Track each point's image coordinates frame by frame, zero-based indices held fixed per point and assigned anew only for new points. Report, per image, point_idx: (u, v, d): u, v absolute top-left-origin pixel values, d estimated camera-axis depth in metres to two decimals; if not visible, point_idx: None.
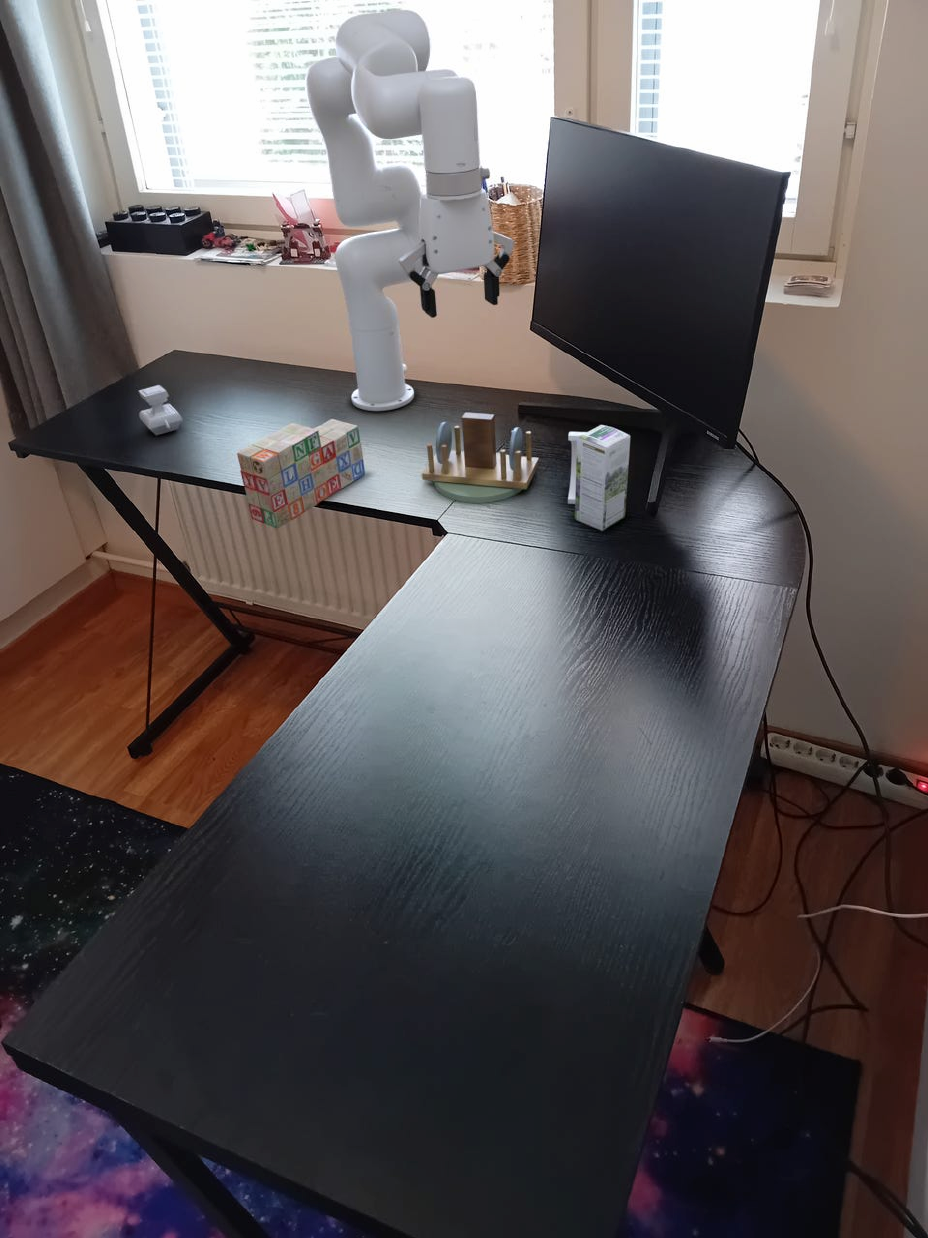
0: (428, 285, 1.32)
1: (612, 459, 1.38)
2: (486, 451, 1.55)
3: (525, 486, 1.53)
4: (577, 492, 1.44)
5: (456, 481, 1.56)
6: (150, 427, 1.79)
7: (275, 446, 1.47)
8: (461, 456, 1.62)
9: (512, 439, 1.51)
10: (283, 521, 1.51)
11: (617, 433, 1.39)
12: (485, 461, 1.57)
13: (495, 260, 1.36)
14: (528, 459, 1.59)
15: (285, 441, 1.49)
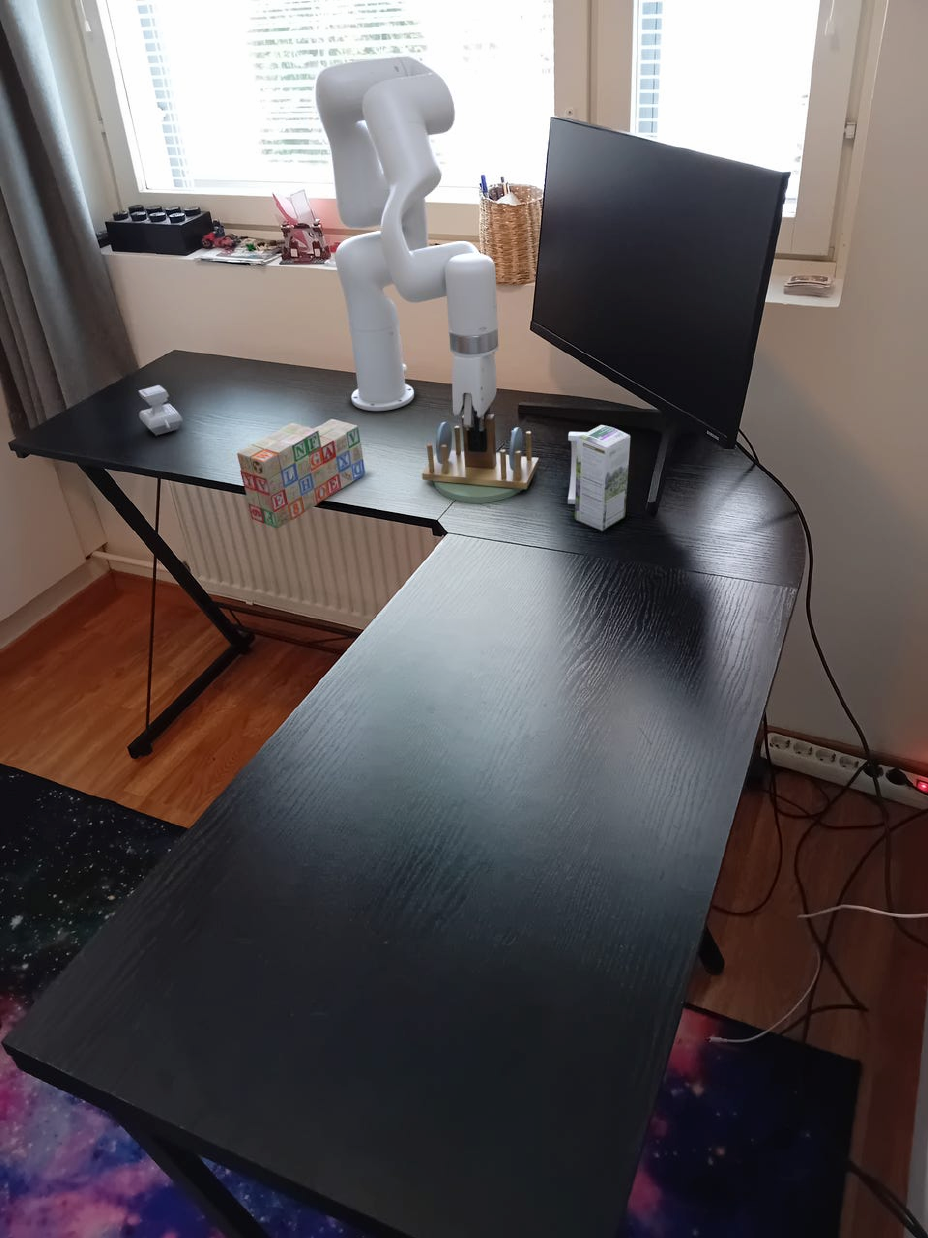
0: (483, 426, 1.52)
1: (612, 459, 1.38)
2: (486, 451, 1.55)
3: (525, 486, 1.53)
4: (577, 492, 1.44)
5: (456, 481, 1.56)
6: (150, 427, 1.79)
7: (275, 446, 1.47)
8: (461, 456, 1.62)
9: (512, 439, 1.51)
10: (283, 521, 1.51)
11: (617, 433, 1.39)
12: (485, 461, 1.57)
13: None
14: (528, 459, 1.59)
15: (285, 441, 1.49)
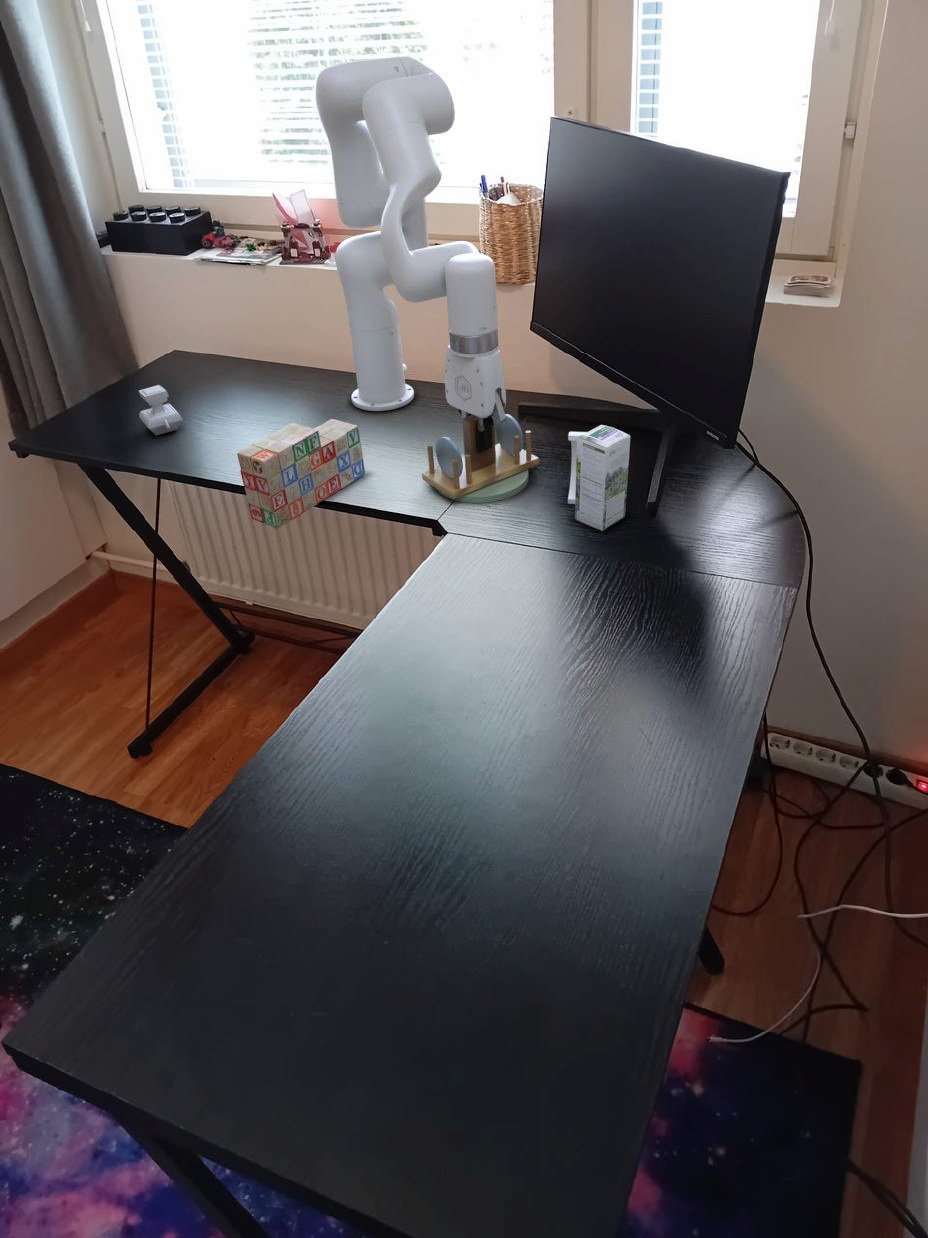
0: None
1: (612, 459, 1.38)
2: None
3: (538, 461, 1.60)
4: (577, 492, 1.44)
5: (483, 485, 1.55)
6: (150, 427, 1.79)
7: (275, 446, 1.47)
8: None
9: (516, 423, 1.56)
10: (283, 521, 1.51)
11: (617, 433, 1.39)
12: (489, 457, 1.58)
13: None
14: None
15: (285, 441, 1.49)
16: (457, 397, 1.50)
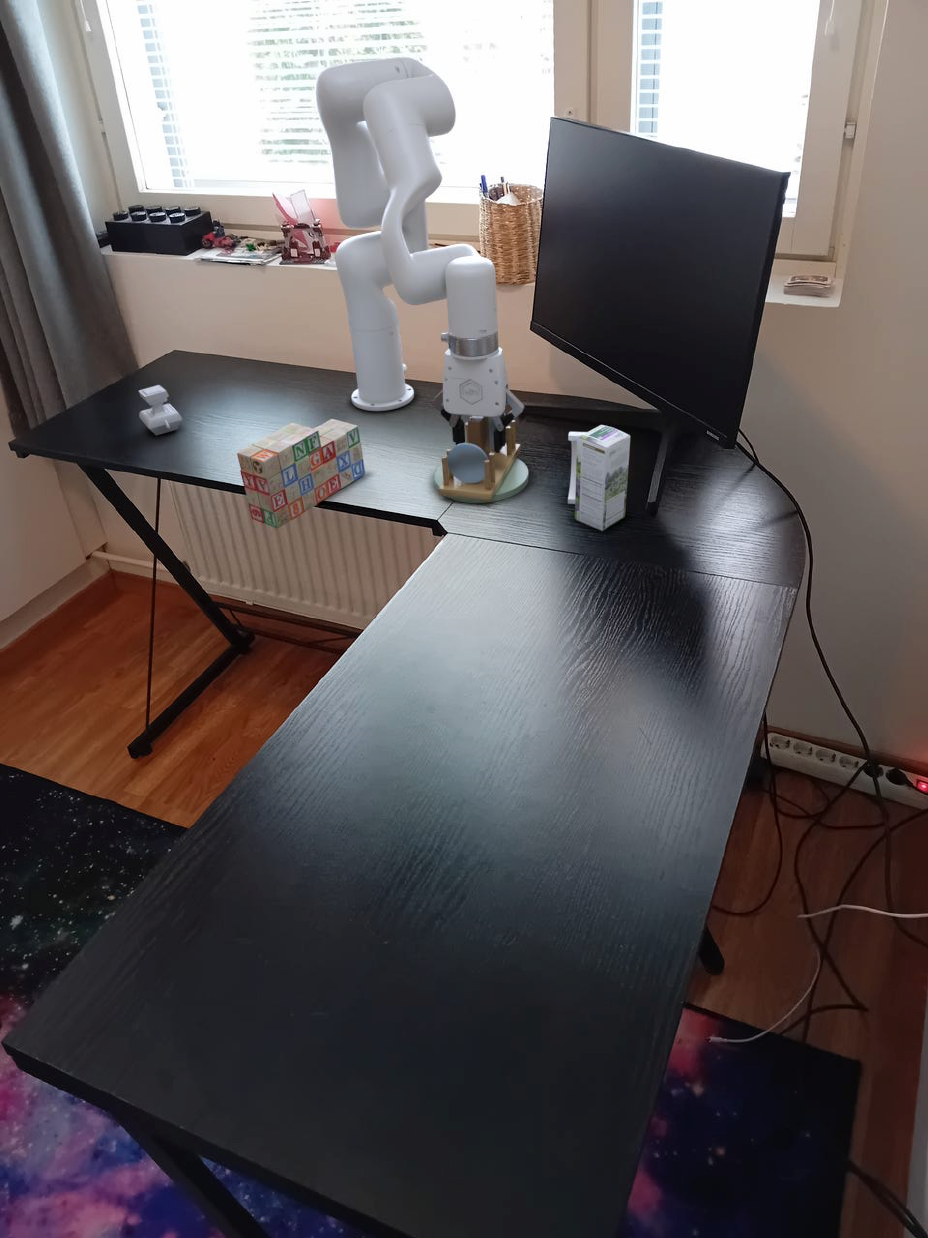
0: None
1: (612, 459, 1.38)
2: (488, 444, 1.57)
3: (520, 448, 1.64)
4: (577, 492, 1.44)
5: (501, 481, 1.56)
6: (150, 427, 1.79)
7: (275, 446, 1.47)
8: None
9: None
10: (283, 521, 1.51)
11: (617, 433, 1.39)
12: (488, 455, 1.58)
13: (451, 414, 1.54)
14: None
15: (285, 441, 1.49)
16: (462, 403, 1.49)
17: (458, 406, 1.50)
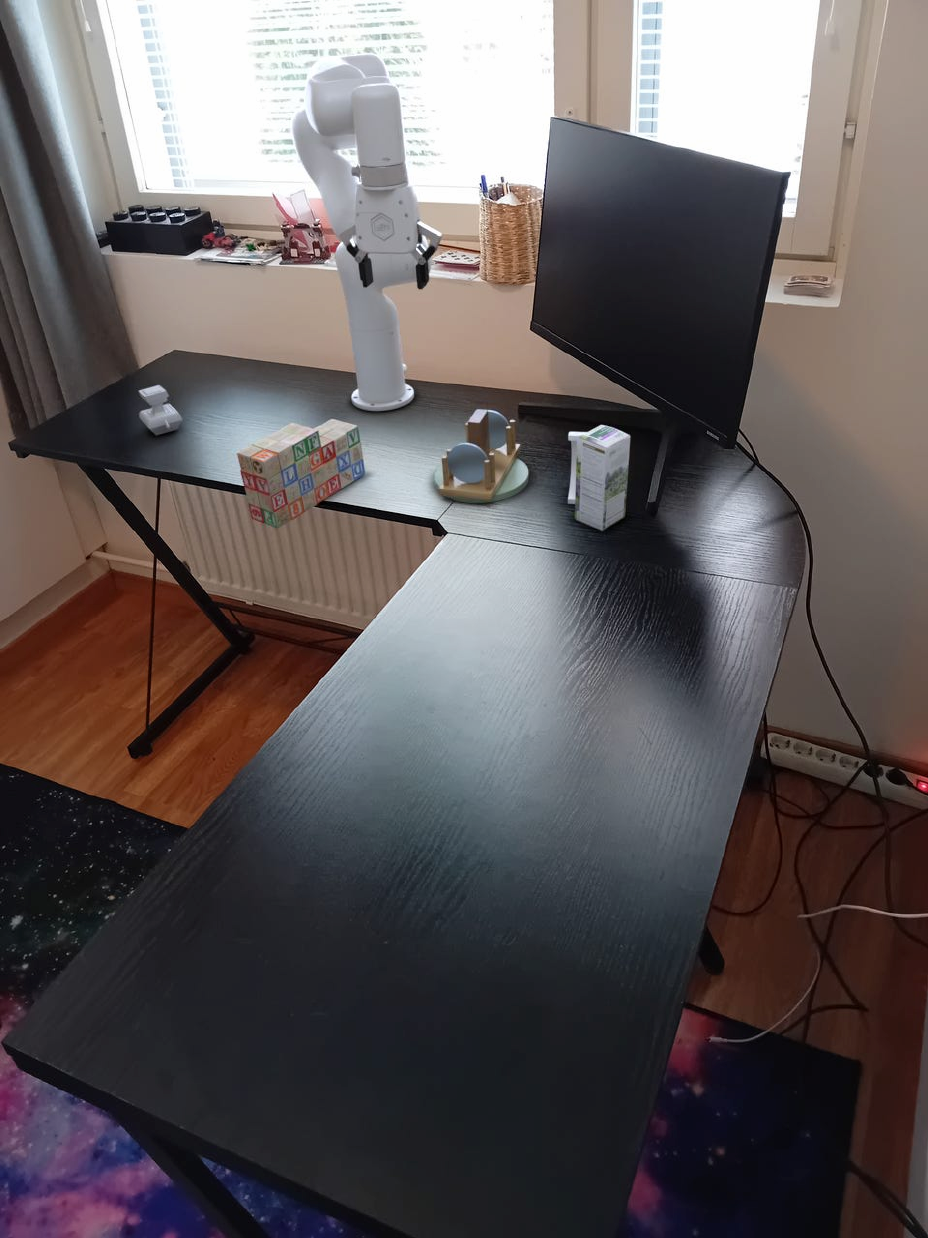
0: None
1: (612, 459, 1.38)
2: (488, 444, 1.57)
3: (520, 448, 1.64)
4: (577, 492, 1.44)
5: (501, 481, 1.56)
6: (150, 427, 1.79)
7: (275, 446, 1.47)
8: None
9: (502, 415, 1.59)
10: (283, 521, 1.51)
11: (617, 433, 1.39)
12: (488, 455, 1.58)
13: (357, 249, 1.55)
14: None
15: (285, 441, 1.49)
16: (375, 239, 1.50)
17: (371, 243, 1.51)
